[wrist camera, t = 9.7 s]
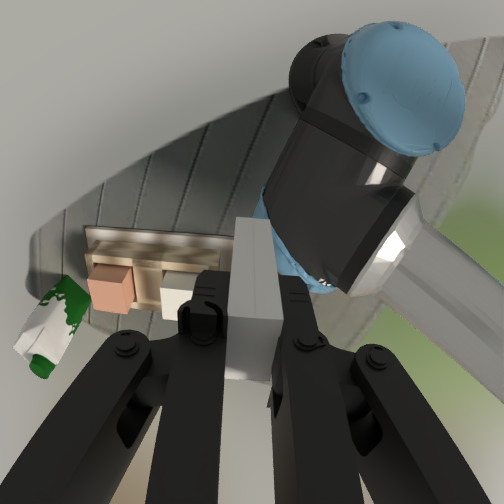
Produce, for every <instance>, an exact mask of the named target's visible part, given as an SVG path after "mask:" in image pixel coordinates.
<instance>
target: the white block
mask: <svg viewBox="0 0 504 504" xmlns="http://www.w3.org/2000/svg"><path fill="white" fill-rule="evenodd" d="M199 274H200V273H198V272H186V271H175V270H167V271H166V274H165V276H164V279H163V281H162V284H161V286H160V294H161V305H162V315H163V319H168V320H177V321H178V318H177V310H178V309H179V307H180V305H182V304H183V303H185V302H186V301H188V300H191V298H192V293H193V289H194V285H195V281H196V277H197V276H198V275H199Z"/></svg>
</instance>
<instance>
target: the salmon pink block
mask: <svg viewBox="0 0 504 504" xmlns="http://www.w3.org/2000/svg"><path fill="white" fill-rule="evenodd" d="M87 281H88V286H89V290H90V295H91V299H92V303H93V307H94V309H95V310H102V311H108V312H115V313H122V314H127V313H128V311H129V309H130V307H131V304H132V302H133V300H134V298H135V296H136V288H135V281H134V273H133V266H124V265H115V264H105V263H98V264H97V266H96V267H95V268H94V270H93V271H92V273H91V274H90V276H89V277H88V278H87Z"/></svg>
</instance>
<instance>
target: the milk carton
mask: <svg viewBox="0 0 504 504" xmlns="http://www.w3.org/2000/svg"><path fill="white" fill-rule="evenodd" d="M91 300H92V299H91V296H89V295H88V294H87V293H86V292H85V291H84V290H83V289H82V288H81V287H80V286H79V285H77V284H76V283H75V282H74V281H73V280H72V279H71V278H70V277H69V276H68V275H67V276H66V277H64V278H63V279H62V280H61V281H60V282H59V283H57V284H56V285H55V286H54V287H53V288H52V289H51V290H50V291H49V292H48V293H47V294H46V295H45V296H44V297H43V299H42V300H41V301H40V303H39V304H38V305H37V307H36V308H35V309H34V311H33V312H32V314H31V315H30V316H29V318H28V320H27V321H26V323H25V325H24V326H23V328H22V330H21V332H20V334H19V336H18V339H17V340H16V342H15V344H14V347H13V348H14V349H15V350H16V351H17V352H18V353H19V354H21V355H22V356H23V358H24V359H25V360H26V361H28V362H29V363H30V365H29V367H30V369H31V370H32V372H33V373H34V374H36V375H37V376H38V377H40V378H43V379H47V378H48V377H49V375H50V373H51V371H53V369H54V368H55V366H56V365H57V364H58V363H59V361H60V359H61V357H62V355H63V353H64V351H65V350H66V348H67V346H68V344H69V342H70V340H71V339H72V337H73V335H74V333H75V331H76V330H77V328H78V326H79V324H80V323H81V321H82V319H83V317H84V314H85V312H86V310H87V308H88V306H89V304H90V302H91Z"/></svg>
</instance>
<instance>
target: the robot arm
mask: <svg viewBox="0 0 504 504" xmlns="http://www.w3.org/2000/svg"><path fill="white" fill-rule="evenodd" d="M458 71H459V70H458V68H457V65H456V63H455V62H454V60H453V58H452V56H451V55H450V54H449V52H448V51H447V50H446V48H445V47H444V46H443V45H442V44H441V43H440V42H439V41H438V40H437V39H436V38H435V37H433V36H432V35H431V34H430V33H428V32H427V31H425V30H423V29H421V28H419V27H417V26H415V25H412V24H409V23H405V22H399V21H387V22H381V23H371V24H368V25H365V26H363V27H362V28H359V30H357V31H355V32H354V33H353V34H350V35H346V34H330V35H325V36H322V37H319V38H316V39H314V40H313V41H311V42H309V43H308V44H307V45H306V46H304V47H303V48H302V49H301V50H300V51H299V52H298V54H297V55H296V57H295V58H294V60H293V62H292V65H291V68H290V72H289V89H290V94H291V97H292V100H293V102H294V104H295V106H296V107H297V109H298V111H299V112H300V113H301V114H302V115H301V117H300V118H299V120H298V122H297V124H296V126H295V128H294V130H293V132H292V134H291V136H290V138H289V140H288V141H287V143H286V145H285V147H284V149H283V151H282V153H281V155H280V157H279V159H278V161H277V163H276V165H275V167H274V169H273V171H272V173H271V175H270V177H269V179H268V181H267V182H266V183H265V184H264V185H263V187H262V189H261V193H260V199H259V201H258V204H257V206H256V208H255V210H254V213H253V215H252V218H246V217H236V224H235V234H234V244H233V255H232V265H231V272H227V271H215V270H203V271H202V272H201V273H200V274H199V275H198V276H197V277H196V281H195V285H194V289H193V293H192V298H191V300H188V301H186V302H185V303H183V304H182V305H180V307H179V309H178V310H177V318H178V332H179V333H177V334H176V335H174V336H172V337H170V338H166V339H161V340H153V341H149V339H148V338H147V337H146V336H145V335H144V334H142V333H141V332H139V331H134V330H121V331H118V332H116V333H114V334H112V335H111V336H110V337H108V338H107V339H106V340H105V342H104V343H103V344H102V345H101V347H100V348H99V349H98V351H97V352H96V353H95V354H94V355H93V357H92V358H91V359H90V361H89V362H88V363H87V364H86V366H85V367H84V368H83V369H82V371H81V372H80V373H79V375H78V376H77V377H76V379H75V380H74V381H73V382H72V384H71V385H70V387H69V388H68V389H67V391H66V392H65V393H64V395H63V396H62V397H61V398H60V400H59V401H58V402H57V404H56V405H55V406H54V408H53V409H52V410H51V412H50V413H49V415H48V416H47V417H46V419H45V420H44V421H43V423H42V424H41V426H40V427H39V428H38V430H37V431H36V433H35V434H34V436H33V437H32V438H31V440H30V441H29V443H28V444H27V446H26V447H25V449H24V450H23V451H22V453H21V454H20V456H19V457H18V459H17V460H16V462H15V463H14V465H13V466H12V468H11V469H10V471H9V473H8V474H7V475H6V477H5V478H4V480H3V482H2V483H1V485H0V504H109V503H110V501H111V499H112V497H113V495H114V493H115V491H116V489H117V487H118V486H119V483H120V482H121V480H122V478H123V476H124V474H125V472H126V470H127V468H128V466H129V465H130V463H131V460H132V459H133V457H134V455H135V453H136V451H137V449H138V448H139V446H140V444H141V442H142V440H143V438H144V436H145V434H146V432H147V431H148V429H149V426H150V425H151V423H152V421H153V419H154V417H155V415H156V414H157V412H158V410H159V408H160V406H163V407H162V412H161V416H160V421H159V427H158V432H157V437H156V442H155V448H154V454H153V460H152V465H151V470H150V477H149V482H148V489H147V495H146V501H145V504H218V484H219V463H220V445H221V427H222V410H223V394H224V378H225V379H239V380H257V381H270V378H271V374H272V388H271V392H270V396H269V400H268V404H267V407H268V408H269V407H270V406H271V425H272V444H273V467H274V490H275V504H364V499H363V493H362V488H361V483H360V477H359V473H360V475H361V477H362V480H363V482H364V484H365V485H366V488H367V490H368V492H369V494H370V496H371V498H372V500H373V502H374V504H491V502H490V500H489V499H488V497H487V495H486V493H485V492H484V490H483V489H482V487H481V485H480V484H479V482H478V480H477V478H476V477H475V475H474V473H473V472H472V470H471V468H470V467H469V465H468V464H467V462H466V461H465V459H464V457H463V455H462V454H461V452H460V451H459V449H458V447H457V446H456V444H455V443H454V441H453V440H452V438H451V437H450V435H449V433H448V432H447V430H446V429H445V427H444V426H443V424H442V423H441V421H440V420H439V418H438V417H437V415H436V414H435V412H434V411H433V409H432V408H431V406H430V405H429V404H428V402H427V401H426V399H425V398H424V396H423V395H422V393H421V392H420V390H419V389H418V387H417V386H416V385H415V383H414V382H413V380H412V379H411V377H410V376H409V375H408V373H407V372H406V370H405V369H404V368H403V366H402V365H401V363H400V362H399V361H398V359H397V358H396V356H395V355H394V354H393V353H392V352H391V351H390V350H389V349H387V348H385V347H383V346H381V345H377V344H366V345H364V346H362V347H360V348H359V349H358V351H357V352H356V353H354V352H350V351H346V350H342V349H339V348H336V347H334V346H332V345H330V344H329V342H328V340H327V338H326V336H324V335H323V334H322V333H321V332H320V331H319V330H318V326H317V322H316V318H315V314H314V310H313V306H312V303H311V298H310V295H309V291H310V292H314V293H319V294H325V293H330V292H332V291H334V290H336V289H338V288H339V289H340V290H342V291H343V292H344V293H345V294H347V295H348V296H349V297H354V296H362V295H374V296H376V297H377V298H378V299H379V300H381V301H382V302H383V303H384V304H386V305H387V306H388V307H389V308H391V309H392V310H393V311H395V312H396V313H397V314H398V315H399V316H401V317H402V318H403V319H404V320H406V321H407V322H408V323H409V324H411V325H412V326H413V327H414V328H415V329H417V330H418V331H419V332H420V333H422V334H423V335H424V336H425V337H426V338H428V339H429V340H430V341H431V342H432V343H434V344H435V345H436V346H437V347H439V348H440V349H441V350H442V351H443V352H444V353H446V354H447V355H448V356H449V357H450V358H451V359H453V360H454V361H455V362H456V363H457V364H459V365H460V366H461V367H462V368H463V369H464V370H466V371H467V372H468V373H469V374H470V375H471V376H472V377H474V378H475V379H476V380H477V381H478V382H479V383H480V384H482V385H483V386H484V387H485V388H486V389H487V390H488V391H490V392H491V393H492V394H493V395H494V396H495V397H497V399H498V400H500V401H501V402H502V403H503V404H504V286H503V285H502V284H501V283H500V282H499V281H498V280H497V279H495V278H494V277H493V276H492V275H491V274H490V273H489V272H488V271H486V270H485V269H484V268H483V267H482V266H481V265H480V264H479V263H477V262H476V261H475V260H474V259H473V258H472V257H470V256H469V255H468V254H467V253H466V252H464V251H463V250H462V249H461V248H460V247H458V246H457V245H456V244H455V243H453V242H452V241H451V240H450V239H448V238H447V237H446V236H445V235H443V234H442V233H441V232H440V231H438V230H437V229H436V228H434V227H433V226H432V225H430V224H429V223H428V222H427V221H426V220H425V218H424V217H423V213H422V208H421V204H420V199H419V196H418V195H417V194H415V193H414V192H412V191H411V190H409V189H408V188H406V187H405V186H404V185H403V183H404V181H405V179H406V177H407V176H408V174H409V172H410V170H411V169H412V167H413V165H414V163H415V162H416V160H417V158H418V156H420V157H421V156H426V155H430V154H431V153H433V152H434V151H440V150H442V149H443V148H445V147H446V146H447V145H448V144H449V143H450V142H451V141H452V140H453V139H454V138H455V136H456V135H457V133H458V131H459V129H460V127H461V124H462V121H463V117H464V111H465V92H464V86H463V83H462V82H461V81H460V78H459V74H458ZM302 119H303V120H302ZM277 271H278V272H279V273H280V274H281V275H278V273H277ZM358 471H359V472H358Z"/></svg>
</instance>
